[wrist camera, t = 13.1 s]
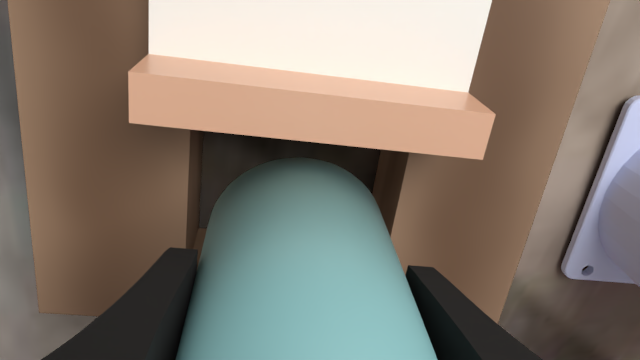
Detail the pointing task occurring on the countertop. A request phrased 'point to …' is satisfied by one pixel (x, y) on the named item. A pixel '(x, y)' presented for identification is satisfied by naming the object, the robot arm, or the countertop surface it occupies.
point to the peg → (300, 273)
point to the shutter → (318, 72)
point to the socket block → (187, 147)
